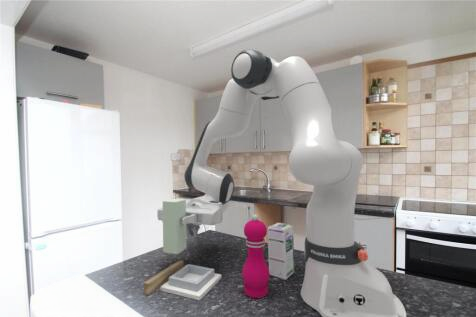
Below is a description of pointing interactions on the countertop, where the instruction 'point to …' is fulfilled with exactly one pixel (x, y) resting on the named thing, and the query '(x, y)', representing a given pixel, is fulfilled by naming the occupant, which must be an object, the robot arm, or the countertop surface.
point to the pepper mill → (255, 259)
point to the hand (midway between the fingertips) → (172, 220)
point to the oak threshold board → (161, 278)
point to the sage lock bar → (174, 226)
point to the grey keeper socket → (191, 281)
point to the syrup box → (281, 250)
